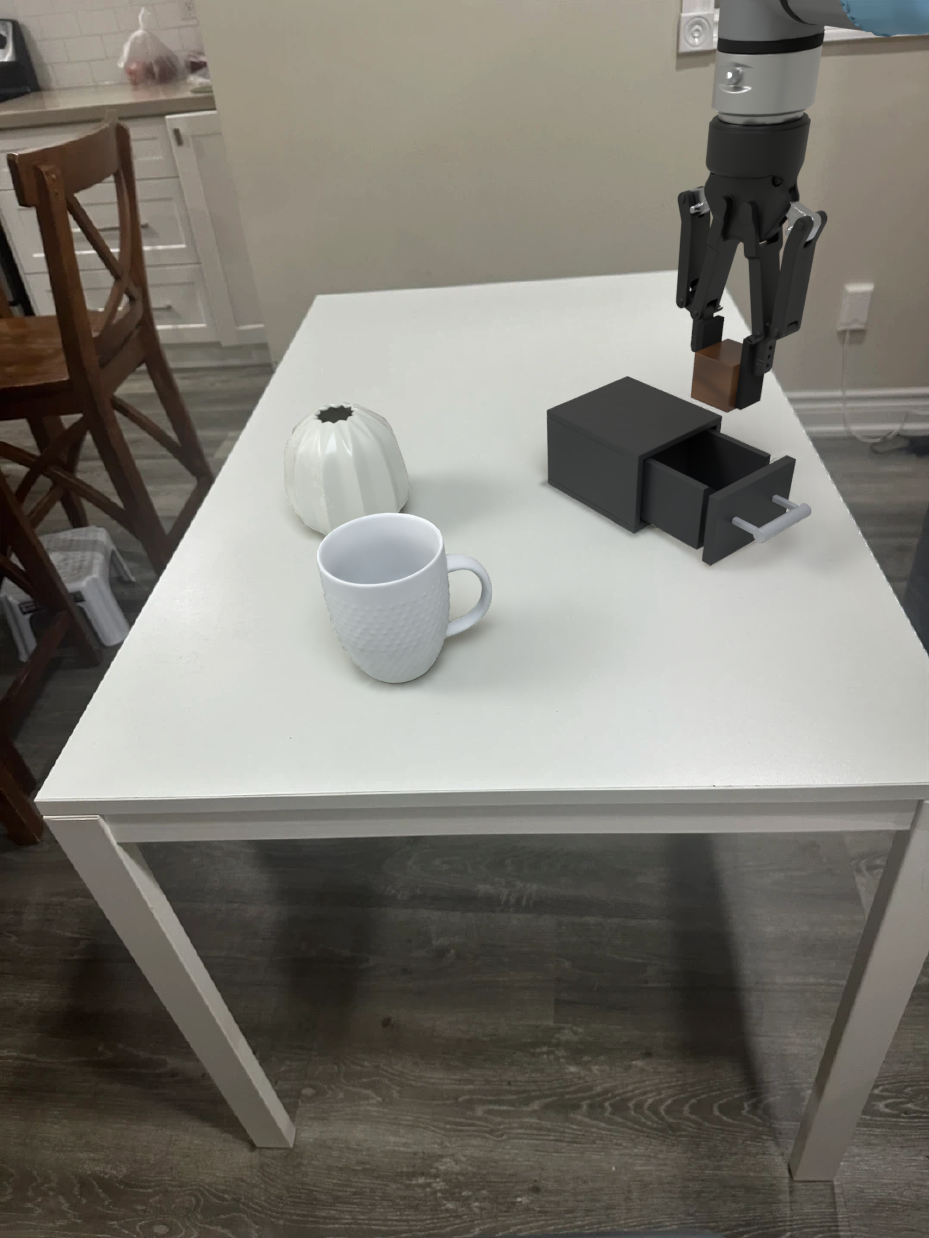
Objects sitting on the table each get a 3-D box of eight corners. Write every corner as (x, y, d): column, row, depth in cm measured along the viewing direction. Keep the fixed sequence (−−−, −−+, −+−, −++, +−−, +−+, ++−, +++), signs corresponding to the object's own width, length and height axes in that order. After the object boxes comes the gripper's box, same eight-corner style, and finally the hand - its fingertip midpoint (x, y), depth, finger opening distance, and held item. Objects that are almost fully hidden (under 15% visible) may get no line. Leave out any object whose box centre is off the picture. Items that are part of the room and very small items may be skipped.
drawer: (817, 540, 89) (832, 474, 84) (743, 585, 85) (754, 518, 80) (689, 476, 101) (695, 415, 96) (617, 512, 96) (619, 450, 91)
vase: (435, 517, 100) (423, 411, 92) (333, 566, 94) (309, 458, 86) (372, 474, 109) (355, 373, 100) (274, 517, 103) (247, 414, 94)
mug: (482, 605, 87) (472, 494, 79) (510, 678, 79) (502, 561, 70) (335, 635, 85) (309, 524, 77) (348, 712, 77) (321, 597, 68)
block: (759, 397, 81) (767, 351, 78) (727, 413, 79) (733, 366, 76) (722, 383, 84) (727, 338, 81) (690, 397, 82) (694, 352, 79)
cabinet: (713, 492, 100) (722, 415, 93) (634, 533, 94) (638, 456, 88) (624, 447, 109) (627, 375, 103) (547, 483, 104) (546, 409, 98)
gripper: (642, 110, 71) (630, 379, 85) (827, 136, 59) (775, 441, 74) (706, 94, 74) (683, 356, 89) (893, 116, 62) (830, 412, 77)
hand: (725, 394), depth 81 cm, fingers closed on block, 4 cm apart
